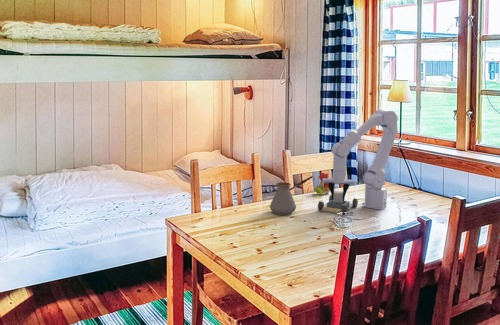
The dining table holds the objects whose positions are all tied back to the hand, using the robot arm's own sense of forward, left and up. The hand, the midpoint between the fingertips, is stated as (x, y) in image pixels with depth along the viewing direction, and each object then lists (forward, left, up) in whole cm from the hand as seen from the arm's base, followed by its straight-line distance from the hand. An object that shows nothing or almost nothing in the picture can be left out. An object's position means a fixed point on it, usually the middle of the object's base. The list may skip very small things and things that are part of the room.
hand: (338, 199), depth 226 cm
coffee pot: (+15, +15, -4) cm, 22 cm away
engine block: (0, 0, -2) cm, 2 cm away
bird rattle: (+16, -22, -4) cm, 28 cm away
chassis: (0, 0, -4) cm, 4 cm away
